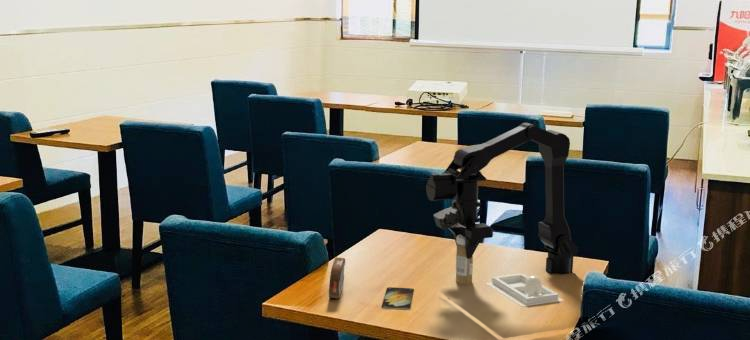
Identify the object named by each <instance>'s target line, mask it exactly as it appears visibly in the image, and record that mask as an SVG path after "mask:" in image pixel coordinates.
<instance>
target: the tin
mask: <svg viewBox="0 0 750 340" xmlns="http://www.w3.org/2000/svg"><path fill="white" fill-rule="evenodd" d="M345 264H346V258H345V257H337V256H335V257H334V260H333V263H332V265H331V268H330V275H329V284H328V285H329V288H328V298H329V299H340V297H341V295H342V292H343V289H344V288H343V287H344V284H345V283H344V281H345V267H346V266H345Z"/></svg>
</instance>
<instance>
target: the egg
mask: <svg viewBox="0 0 750 340" xmlns="http://www.w3.org/2000/svg"><path fill="white" fill-rule="evenodd" d="M541 283H542V282H541V280H540V278H539V276H537V275H530V276H528V278H527V280H526V283H525V286H524V290H525V293H526V294H527V295H528V296H530V297H531V296H538V295H540V294H541V292H542V285H543V284H542V285H541Z"/></svg>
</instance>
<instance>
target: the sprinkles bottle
mask: <svg viewBox="0 0 750 340" xmlns="http://www.w3.org/2000/svg"><path fill="white" fill-rule="evenodd" d="M456 243H457V246H456V253H455V282H456V283H457V284H459V285H470V284H472V283H473V269H474V266H473V264H474V259H473V257H474V256H472V257H471V258H470V259H467V257H466V247H465V239H464V238H463V237H462V236H461V235H457V237H456V242H455V244H456Z"/></svg>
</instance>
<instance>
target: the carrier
mask: <svg viewBox="0 0 750 340" xmlns="http://www.w3.org/2000/svg"><path fill="white" fill-rule="evenodd" d="M528 277H529V276H528V275H525V274H524V273H515V274H506V275H505V274H504V275H499V276H498V275H497V276H492V277H491V278H492V279H491V281H490V282H486V284H487V285H488V286H489V287H491V288H493V289H494V290H496V291H498V292H499V293H501V294H502V295H503V296H506V297H507V298H508V299H510V300H511V301H513V302H515V303H516V304H518V305H519V306H521V307H530V306H536V305H537V306H538V305H541V304H550V303H551V304H552V303H556V302H564V301H565V299H563V298H561V297H559V294H558V293H557V292H555V291H553V290H552V289H550V288H548V287H547V286H545V285H543V284H541V285H542V292H541V294H540V295H538V296H531V297H530V296H528V295H527V294H526V293H525V290H524V286H525V283H526V280H527V278H528Z"/></svg>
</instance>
